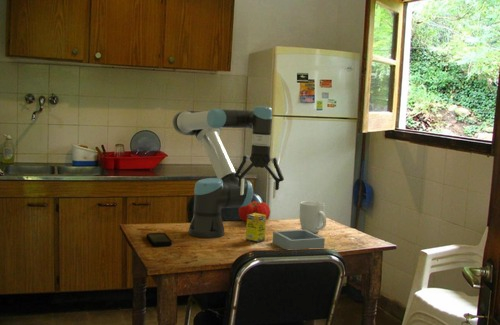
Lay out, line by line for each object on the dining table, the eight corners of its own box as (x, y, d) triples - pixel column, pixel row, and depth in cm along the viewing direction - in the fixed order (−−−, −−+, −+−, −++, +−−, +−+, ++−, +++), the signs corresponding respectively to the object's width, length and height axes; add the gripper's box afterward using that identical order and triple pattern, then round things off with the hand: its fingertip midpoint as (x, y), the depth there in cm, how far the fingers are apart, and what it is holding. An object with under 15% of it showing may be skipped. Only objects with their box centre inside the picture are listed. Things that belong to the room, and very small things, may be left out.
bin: (290, 252, 213) (291, 240, 212) (272, 242, 227) (273, 231, 226) (323, 249, 219) (324, 238, 219) (304, 240, 233) (305, 229, 232)
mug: (333, 235, 245) (335, 206, 243) (314, 237, 239) (316, 207, 237) (312, 227, 257) (313, 200, 256) (293, 229, 251) (295, 201, 249)
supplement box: (257, 243, 224) (259, 216, 223) (245, 240, 227) (246, 214, 226) (265, 240, 229) (266, 214, 228) (252, 238, 232) (254, 212, 231)
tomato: (273, 221, 267) (275, 201, 266) (260, 227, 252) (261, 206, 251) (247, 217, 273) (248, 197, 271) (232, 223, 258) (233, 202, 257)
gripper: (228, 143, 223) (226, 194, 226) (289, 147, 218) (286, 200, 220) (233, 141, 230) (231, 191, 233) (292, 146, 225) (289, 197, 227)
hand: (258, 196), depth 226 cm, fingers open, 13 cm apart
